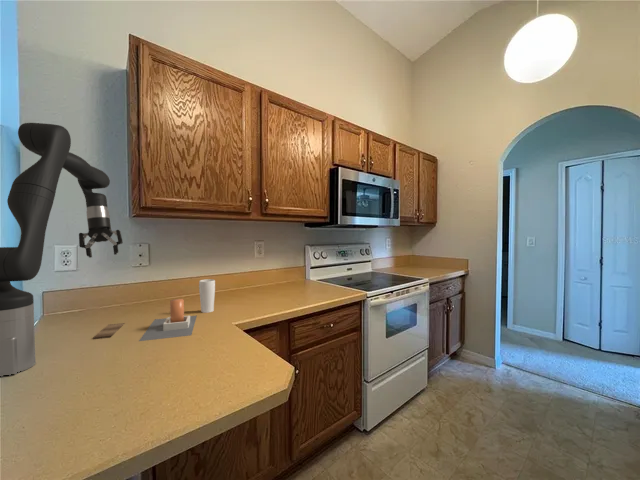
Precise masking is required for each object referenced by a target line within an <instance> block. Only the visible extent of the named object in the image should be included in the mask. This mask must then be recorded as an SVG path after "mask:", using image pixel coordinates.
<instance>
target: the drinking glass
mask: <svg viewBox="0 0 640 480" xmlns="http://www.w3.org/2000/svg"><path fill="white" fill-rule="evenodd" d="M198 284H199V285H198V289H199V290H198V291H199V299H200V301H199V302H200V311H201V312H200V313H204V314H207V313H212V312H214V311H215V295H216V280H215V279H210V278H209V279H200V280H199V281H198Z"/></svg>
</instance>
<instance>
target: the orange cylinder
mask: <svg viewBox="0 0 640 480" xmlns="http://www.w3.org/2000/svg"><path fill="white" fill-rule="evenodd" d="M184 303H185V301H184V298H175V299H174V298H173V299H171V300H170V303H169V304H170V307H169V308H170V309H169V310H170V311H169V312H170V316H169V317H171V323H174V322H184V316H185V304H184Z"/></svg>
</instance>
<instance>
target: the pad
mask: <svg viewBox="0 0 640 480" xmlns="http://www.w3.org/2000/svg"><path fill="white" fill-rule="evenodd" d="M125 324H126V323H125V322H124V323H123V322H122V323H110V324H107V325H106V326H105V327H104V328H103V329H101V330H100V331H99V332H98V333H97V334H96V335H94V336H93V340H94V339H95V340H97V339H106V338H107V339H108V338H112V337H113V336H114V335H115V334H116V333H117V332H118V331H119V330H120V329H121V328H122V327H123V326H124V325H125Z"/></svg>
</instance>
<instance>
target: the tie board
mask: <svg viewBox="0 0 640 480" xmlns="http://www.w3.org/2000/svg"><path fill="white" fill-rule="evenodd" d="M196 320H197V315H184V322H174V323H171V316H168V317H166V318H155V319H154V320H153V321H152V322H151V324H150V325H149V326H148V328H147V329H146V331H145V332H144V333H143V335H142V336H141V337H140V339H139V340H138V342H144V341H145V342H146V341H152V340H162V339H171V338H179V337H189V336H192V335H193V331H194V327H195V323H196Z"/></svg>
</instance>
